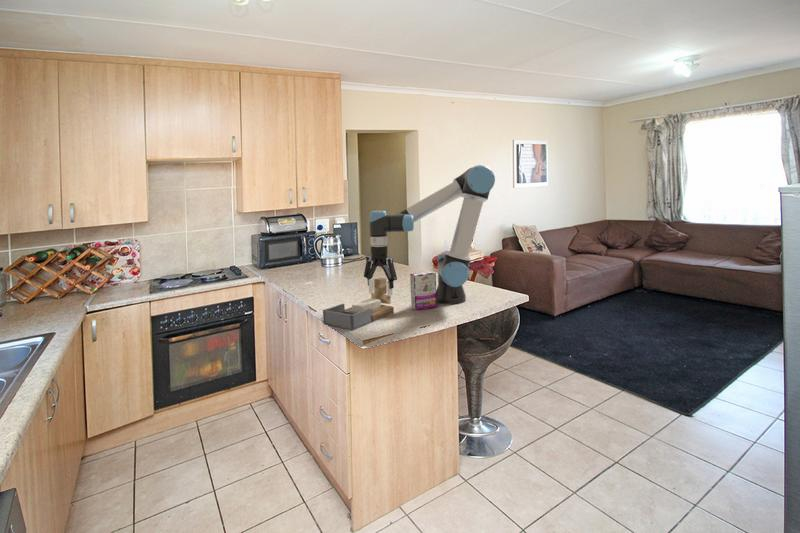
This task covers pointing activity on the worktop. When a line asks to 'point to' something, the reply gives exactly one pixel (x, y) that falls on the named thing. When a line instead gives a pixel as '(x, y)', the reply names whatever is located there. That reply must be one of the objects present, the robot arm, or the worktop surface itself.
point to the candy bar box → (423, 290)
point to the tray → (346, 317)
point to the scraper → (381, 291)
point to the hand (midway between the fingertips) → (380, 294)
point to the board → (379, 312)
